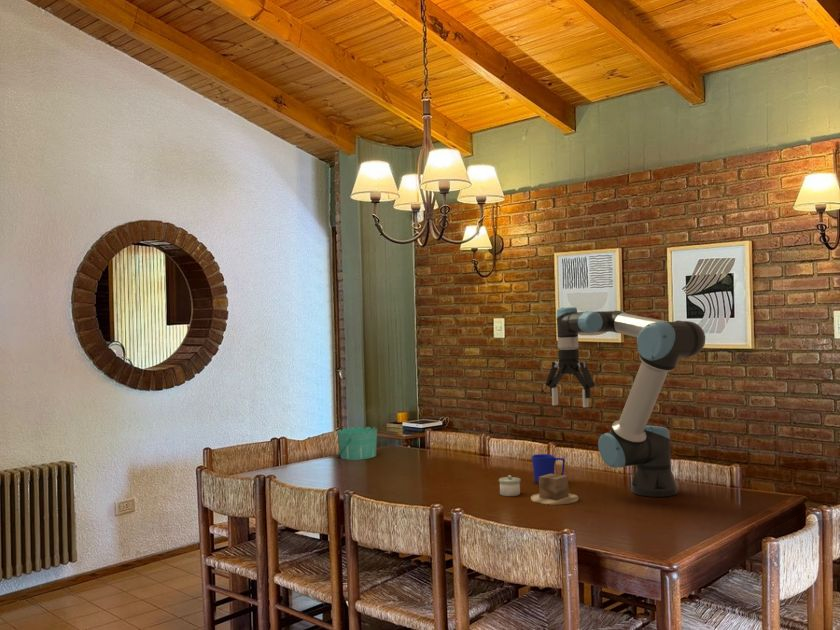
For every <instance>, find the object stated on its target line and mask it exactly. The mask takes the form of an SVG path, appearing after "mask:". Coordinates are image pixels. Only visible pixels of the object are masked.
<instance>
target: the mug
mask: <svg viewBox="0 0 840 630" xmlns="http://www.w3.org/2000/svg"><path fill="white" fill-rule="evenodd" d="M531 460H532V470H533V477H534V479H533V480H534V482H535V483H537V484H539V477H540V476H544V475H547V474H555V463H556V461H562V470H561V474H560V475H564V472H565V464H566V459H565V458H564V457H555V456H554V455H553V454H548V453H547V454H544V453H540V454H539V453H538V454H533V455H532V456H531Z"/></svg>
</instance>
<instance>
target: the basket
mask: <svg viewBox="0 0 840 630" xmlns="http://www.w3.org/2000/svg"><path fill="white" fill-rule="evenodd" d="M336 431H337V439H338V446H339V451H338V455H339V456H340V458H341V459H342V460H349V461H357V460H358V461H359V460H367V459H368V460H369V459H372V458H375V457H376V456H377V439H378V428H376V427H375V426H374V427H371V426H366V427H365V428H364V426H358V427H357V428H355V427H354V426H353V427H348V428H345V427H343V428H342V429H340V428H339V429H338V430H336Z"/></svg>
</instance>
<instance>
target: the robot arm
mask: <svg viewBox="0 0 840 630" xmlns="http://www.w3.org/2000/svg"><path fill="white" fill-rule="evenodd" d="M556 329H557V331H556V332H557V348H558V350H557V354H558V355H557V357H558V361H552V362H551V369H550V371H549V373H548V377H547V379H546V380H545V381H546V382H545V386H546V387H549V391H550V392H549V393H550V396H551V405H552V406H557V405H559V391H558V387H557V386H558V384H559V383H560V381H561V380H562V378H563V377H564V375H573V376H574V377H575V378H576V379H577V381H578V382H579V383H580V385H581V387H583V389H582V391H581V392H582V408H589V407H590V398H591V389H592V388H595V386H596V385H595V383H594V381H593V377H592V375H591V374H590V372H589V369H588V366H587V365H588V364H587V362H586V361H580V362H579V359H580V355H579V354H580V351H579V349H578V348H579V333H583V334H584V333H587V334H593V333H605V332H606V333H607V332H608V333H616V334H622V335H626V336H630V337H632V338H633V337H634V338H637V339H636V345H637V347H636V349H637V351H638V353H639V354H638V357H639V360H640V362H641V363H640V366H639V368H638V371H637V373H636V376H635V378H634V381H633V384H632V386H631V388H630V391H629V394H628V396H627V399H626V402H625V405H624V407H623V409H622V412H621V415H620V418H619V420H616V421H614V422H613V423H612V425H611V427H610V430H609V432H605V433H603V434H601V435H600V437H599V438H598V443H597V447H598V452H599V455H600V457H601V459H602V461H603V463H605V464H606V466H608V467H610V468H621V469H622V468H625V467H630V466H635V473H634V476H633V479H632V482H631V492H632V493H633V494H635V495H638V496H643V497H653V498H655V497H656V498H659V497H660V498H664V497H671V496H676V495H677V494H678V485H677V482H676V480H675V477H674V475H673V471H672V457H671V456H672V455H671V451H672V450H671V439H672V438H671V436H670V430H669V429H668V428H667V427H665V426H659V425H658V426H657V425H649V424H648V423H649V420H650V417H651V415H652V412H653V410H654V407H655V405H656V403H657V400H658V397H659V395H660V392H661V390H662V387H663V385H664V383H665V380H666V379H667V378H666V377H667V375H668V373H669V372H671V371H674V370H675V368H677V367H676V366H677V364H678V362H679V359H685V358H686V359H687V358H691V357H693V356H696V355H698V354H700V352H701V351H702V350H703V348H704V347H705V344H706V333H705V331H704V330H703V328H702V327H701V326H700V325H699V324H698V323H696V322H694V321H687V320H675V321H667V320H662V319H657V318H651V317H645V316H641V315H637V314H636V315H635V314H630V313H626V311H622V310H608V311H599V310H598V311H592V310H591V311H588V310H587V311H586V310H585V311H578V309H577V307H574V306H572V307H571V306H568V307H559V308H557V309H556ZM579 368H580V369H579ZM558 369H559V370H558Z"/></svg>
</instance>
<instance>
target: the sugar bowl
mask: <svg viewBox="0 0 840 630" xmlns="http://www.w3.org/2000/svg"><path fill="white" fill-rule="evenodd" d="M521 480H522V479H521V478H519V477H514V476H512V475H510V474H508V476H505V477H504V476H503V477H500V478H498V482H499V495H501V496H503V497H516V496H519V495H520V494H521V484H520V483H521Z"/></svg>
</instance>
